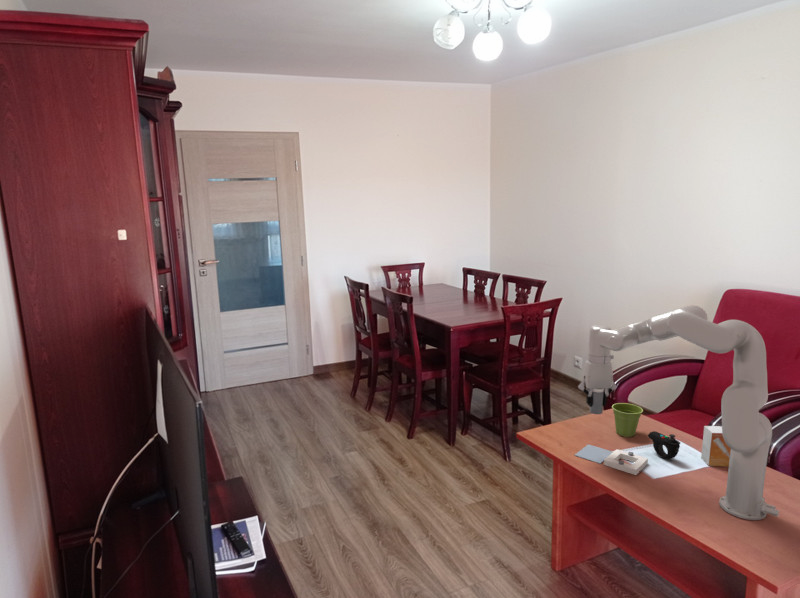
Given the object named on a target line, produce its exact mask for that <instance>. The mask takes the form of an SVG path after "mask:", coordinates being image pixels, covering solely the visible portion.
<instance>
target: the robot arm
mask: <svg viewBox="0 0 800 598" xmlns="http://www.w3.org/2000/svg"><path fill="white" fill-rule="evenodd" d="M708 319H709V317H708V314H707V312H706V311H705V310H704V308H702V307H700V306H698V305H686V306H683V307H680V308H675V309H674V310H670V311H666V312H665V313H664V312H663V313H661V314H658V315H653V316H651V317H650V318H648V319H644V320H642V321H639V322H635V323H632V324H629V325H626V326H623V327H619V328H616V329H612V328H611V327H610V326H608V325H604V324H594V325H591V326H590V328H589V334H588V335H589V339H588V340H589V341H588V356H587V357H588V358H587V360H585V363H584V366H583V371H582V378H581V379H582V381H581V382H580V383H579V384H578V385H577V387H578V389H579V390H581V391H582V392H584V394H585V395H586V399H585V400H586V401H585V402H586V404H587V405H588V406H589V408H590V407H592V401H593V397H592V392H593V389H604V394H603V407H607V403H608V397H609V395H610V394H611V393H612V392H613V391H615V390H616V389H617V388H618V386H617V384H616V383H615V382H614V372H613V364H612V361H611V360H613V359H614V354H611V351H613V352H622V351H623V350H626V349H628V348H631V347H635V346H637V345H640V344H645V343H648V342H653V341H660V342H661V341H665V340H666V341H667V340H670V339H673V338H677V337H679V338H681V339H683V340H686V341H687V342H689V343H692V344H693V345H696V346H698V347H699V348H700V347H701V348H703V349H704V350H706V351H709V352H712V353H715V354H726V353H729V352H731V351H733V353H734V354H733V360H732V368H733V369H732V371H733V372H732V373H733V379H732V384H731V385H729V386H728V387H727V388H726V389H725V390H724V392H723V394H722V396H721V403H720V404H721V406H720V407H721V412H720V413H721V426H722V434H723V438H724V441H725V443H726V444H727V445H728V447H729V448H731V451H730V459H729V467H728V471H727V481H726V489H725V490H726V491H725V495H723V496H721V497H720V498H719V502H718V504H719V506H720V508H721V509H723V511H725V512H726V513H728V514H730V515H731V516H734V517H736V518H740V519H745V520H749V521H759V520H763V519H765V518H767V516H768V515H770V516H774V517H777V518H778V517H779V515H780V514H779V513H780V510H779V509H776V508H777V507H776V505H772V504H769V503H767V502H765V500H766V497H763V496H764V489H765V488H764V486H765V479H766V470H767V465H768V456H769V450H770V446H771V442H772V437H773V426H772V423H771V422H770V421H771V420H769V418H768V417H767V416H766V415H764V414H763V413H761V412H759V411H760V410H761V409H762V408H763V407H764V406H765V405H766V403H767V402H768V398H769V391H768V390H769V389H768V369H767V349H766V344H765V341H764V339H763V336H762V335H761V333H760V332H759V331H758V330H757V329H756V328H755V327H754V326H753V325H751V324H749V322H746V321H743V320H739V319H727V320H725V321H722V322H719V323H716V322H712V321H710V320H708ZM767 514H768V515H767Z"/></svg>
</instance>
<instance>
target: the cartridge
mask: <svg viewBox="0 0 800 598" xmlns="http://www.w3.org/2000/svg"><path fill="white" fill-rule="evenodd" d="M603 394H604V389H593V392H592V397H593V401H592V407H590V406H589V412H590V413H591V414H593V415H602V414H603V409H604V406H603Z"/></svg>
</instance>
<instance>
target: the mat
mask: <svg viewBox="0 0 800 598" xmlns="http://www.w3.org/2000/svg"><path fill="white" fill-rule="evenodd" d="M613 452H614V451H611V450H608V449H605V448H602V447H599V446H595V445H591V444H588V443H587V444H586V446H584V447H583V448H581V449H580V450H579V451H577V452H576V453H575V454H574V456H575V457H578V458H581V459H584V460H587V461H589V462H590V461H591V462H593V463H595V464H600V465H602V463H604V459H606V458H607V457H608V456H609V455H610V454H611V453H613Z"/></svg>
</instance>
